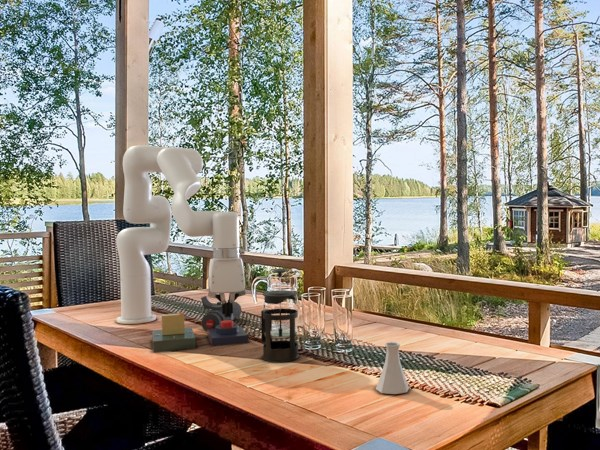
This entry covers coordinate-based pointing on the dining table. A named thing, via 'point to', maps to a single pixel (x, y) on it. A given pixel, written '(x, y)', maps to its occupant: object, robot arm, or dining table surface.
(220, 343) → the button block
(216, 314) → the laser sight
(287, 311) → the french press
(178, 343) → the panel
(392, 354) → the flask
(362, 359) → the dining table surface
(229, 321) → the red button
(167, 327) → the tan flat block
